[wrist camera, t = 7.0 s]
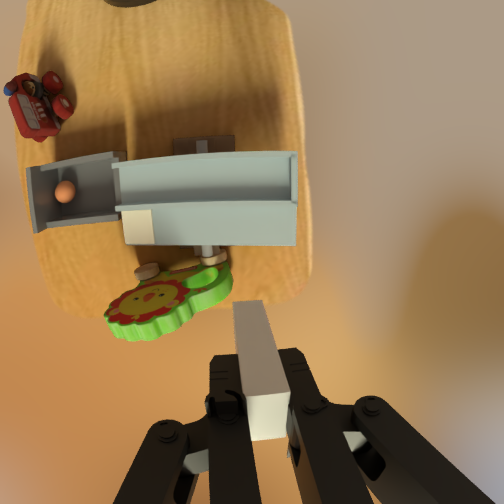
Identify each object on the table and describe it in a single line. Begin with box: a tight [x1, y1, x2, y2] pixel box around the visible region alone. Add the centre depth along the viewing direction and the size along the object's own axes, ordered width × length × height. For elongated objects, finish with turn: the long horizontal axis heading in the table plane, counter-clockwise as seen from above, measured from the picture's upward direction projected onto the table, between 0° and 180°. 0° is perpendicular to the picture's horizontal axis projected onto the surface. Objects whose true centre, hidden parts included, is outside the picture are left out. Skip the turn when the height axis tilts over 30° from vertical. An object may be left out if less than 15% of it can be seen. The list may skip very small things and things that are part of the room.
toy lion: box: [104, 248, 234, 341], centre depth 34 cm, size 16×5×15 cm, turn 101°
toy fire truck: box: [4, 71, 74, 142], centre depth 26 cm, size 7×12×10 cm, turn 28°
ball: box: [55, 181, 75, 203], centre depth 33 cm, size 3×3×3 cm
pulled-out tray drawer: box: [26, 151, 127, 233], centre depth 32 cm, size 9×12×8 cm
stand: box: [173, 135, 237, 255], centre depth 35 cm, size 15×8×6 cm, turn 1°
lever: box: [112, 140, 298, 257], centre depth 30 cm, size 13×20×3 cm, turn 91°
